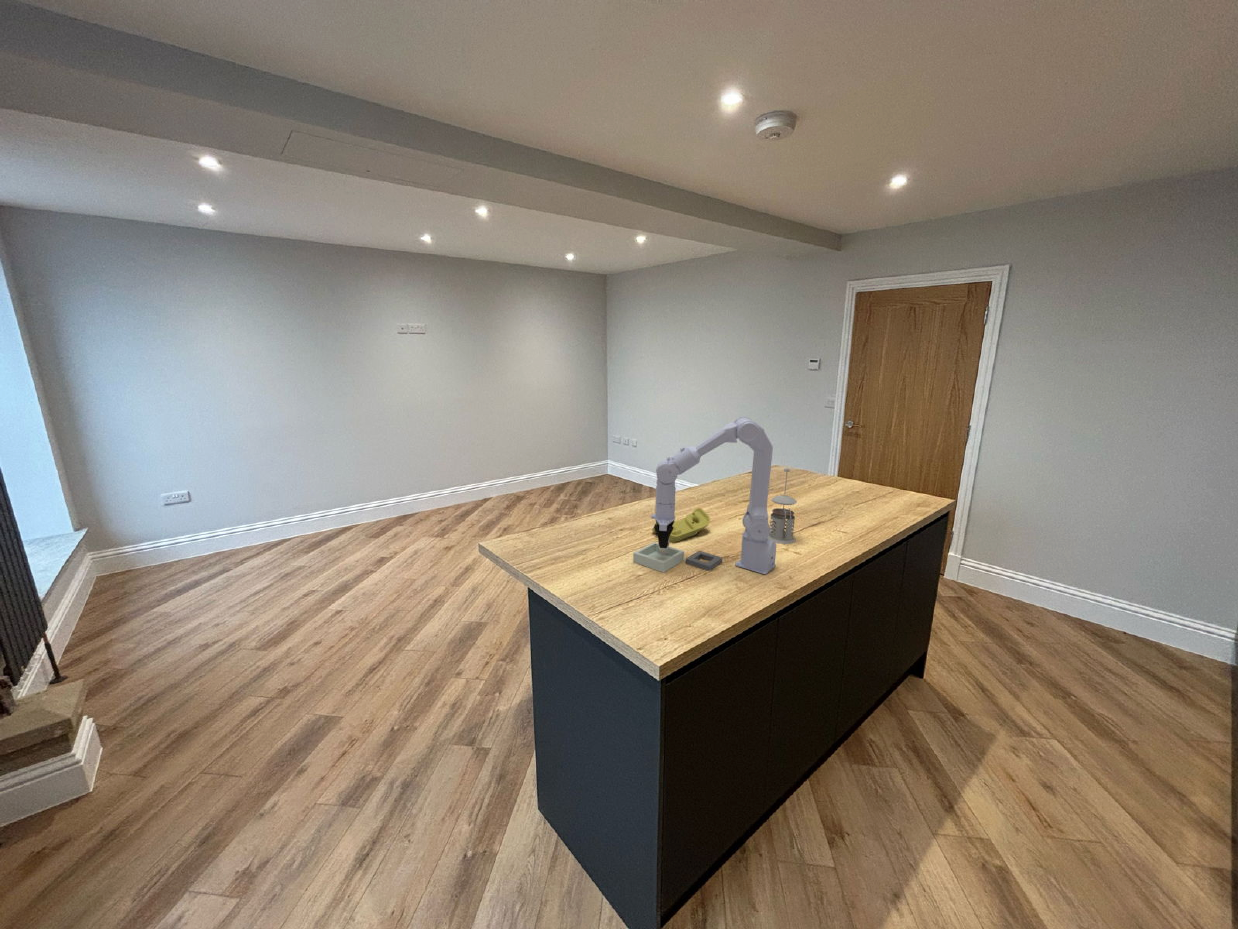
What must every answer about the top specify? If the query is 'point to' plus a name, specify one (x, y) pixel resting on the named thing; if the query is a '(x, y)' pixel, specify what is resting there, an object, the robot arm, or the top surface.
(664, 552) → the cylinder
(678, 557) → the parts tray
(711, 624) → the top surface
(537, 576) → the top surface
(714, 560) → the gray square frame
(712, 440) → the robot arm
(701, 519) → the plastic component
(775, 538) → the french press
